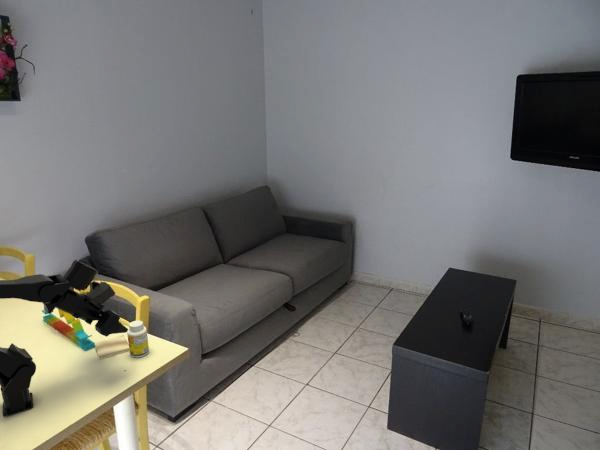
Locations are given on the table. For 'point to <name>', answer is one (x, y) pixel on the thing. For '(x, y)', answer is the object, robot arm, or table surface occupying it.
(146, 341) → the supplement bottle
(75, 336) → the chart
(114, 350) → the wooden pad
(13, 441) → the table surface
